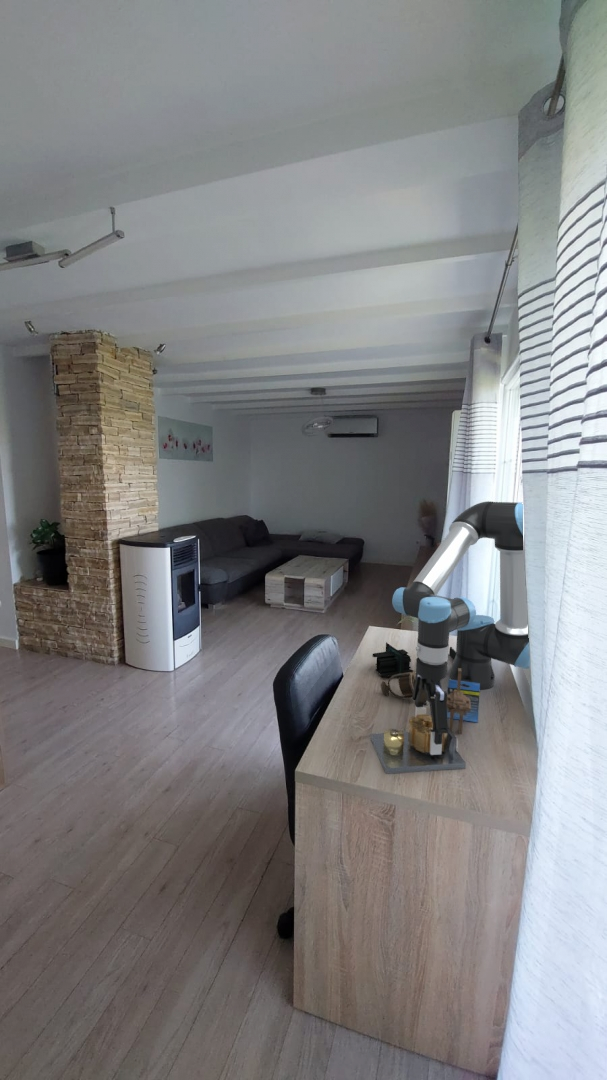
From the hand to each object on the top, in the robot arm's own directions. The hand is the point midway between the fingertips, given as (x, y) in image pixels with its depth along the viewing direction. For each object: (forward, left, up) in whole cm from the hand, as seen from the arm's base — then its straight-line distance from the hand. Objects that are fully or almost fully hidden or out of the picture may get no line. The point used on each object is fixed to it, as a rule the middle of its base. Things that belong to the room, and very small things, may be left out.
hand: (427, 741), depth 110 cm
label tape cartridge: (-17, -15, -3) cm, 23 cm away
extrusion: (-5, -45, -3) cm, 45 cm away
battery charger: (-40, -54, -4) cm, 67 cm away
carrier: (+3, 0, -3) cm, 4 cm away
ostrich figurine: (-10, -4, -4) cm, 11 cm away
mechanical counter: (-2, -26, -3) cm, 26 cm away
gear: (0, 0, 0) cm, 0 cm away
